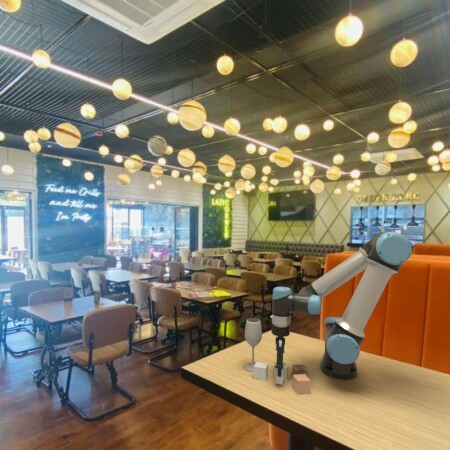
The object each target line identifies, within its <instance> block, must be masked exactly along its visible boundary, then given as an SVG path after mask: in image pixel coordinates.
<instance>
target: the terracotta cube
mask: <svg viewBox="0 0 450 450" xmlns="http://www.w3.org/2000/svg"><path fill="white" fill-rule="evenodd" d="M292 389H293V390H294V392H295V394H297V395H308V394H311V379H310V378H309V376H308V377H307V376H306V375H305V374H299V375H293V374H292Z"/></svg>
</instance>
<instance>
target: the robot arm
mask: <svg viewBox="0 0 450 450" xmlns="http://www.w3.org/2000/svg"><path fill="white" fill-rule="evenodd" d="M412 252H413V247H412V243H411V241H410V240H409V239H408V238H407V237H406V236H405V235H403V234H402V233H399V232H396V231H384V232H379V233H377V234H375V235H374V236H372V238H370V239H369V240H367V242H365V243H364V244H362V246H360V247H359V250H358V251H357V252H356V253H354V254H352V255H351V256H349V257H348V258H347V259H345V260H344V261H342V262H341V263H339V264H337V266H335V267H334V268H332V269H330V270H329V271H328V272H326V273H325V274H323V275H322V276H320V277H319V278H317V279H316V280H315V281H313V282H311V283H310V284H309V285H307V286H305V287H302V288H300V290H299V291H298V293H293V292H292V289H291V288H290V287H286V286H276V287H274V288H273V289H272V299H271V300H272V301H271V303H272V305H271V308H272V309H271V310H272V313H271V314H272V315H270V318H271V323H272V324H271V334H272V336H275V350H276V362H277V365H276V366H275V368H276V380H275V384H276V385H281V386H282V385H283V384H284V383H283V382H284V380H283V363H284V354H285V345H286V338H285V337H289V336H290V334H291V326H290V325H291V312H292V313H300V314H309V315H320V313H321V310H322V308H321V307H322V304H321V303H322V298H324V297H325V296H327V295H329V294H330V293H332V292H333V291H335V290H336V289H337V288H340V286H342V285H344V284H345V283H347V282H348V281H349V280H351V279H353V278H354V277H355V276H357V275H359V274H360V273H362V272H364V273H363V275H362V277H361V278H360V280H359V282H358V285H357V287H356V289H355V290H354V292H353V295H352V297H351V298H350V300H349V302H348V305H347V306H346V309H345V311H344V312H343V315H342V316H341V317H340V316H328V317H326V318H325V319H324V353H323V355H322V358H321V361H320V368H319V369H320V371H321V372H322V373H323V374H325V375H326V376H329V377H331V378H336V379H339V380H351V379H355V378H356V377H358V367H357V363H356V361H357V360H358V358H359V357H360V353H361V349H360V347H361V346H362V343H363V341H364V339H365V337H366V334H365V332H364V329H365V327H366V326H367V323H368V321H369V319H370V318H371V315H372V314H373V312H374V309H375V307H376V305H378V302H379V301H380V298H381V296H382V294H383V292H384V290H385V288H386V286H387V284H388V282H389V280H390V278H391V277H392V275H394V274H395V275H396V274H397V273H399V271H400V269H401V267H402V266H403V264H405V263H406V262H407V261H408V260H409V259H410V258H411V256H412Z"/></svg>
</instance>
